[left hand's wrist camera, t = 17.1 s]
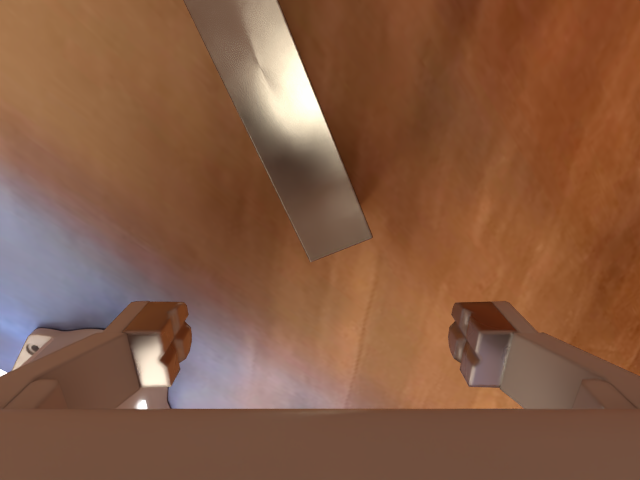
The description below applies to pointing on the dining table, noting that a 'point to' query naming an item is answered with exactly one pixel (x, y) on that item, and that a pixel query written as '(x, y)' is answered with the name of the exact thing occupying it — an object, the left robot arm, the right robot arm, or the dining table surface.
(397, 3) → the dining table surface
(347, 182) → the bar
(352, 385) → the dining table surface
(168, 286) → the dining table surface
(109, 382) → the left robot arm
